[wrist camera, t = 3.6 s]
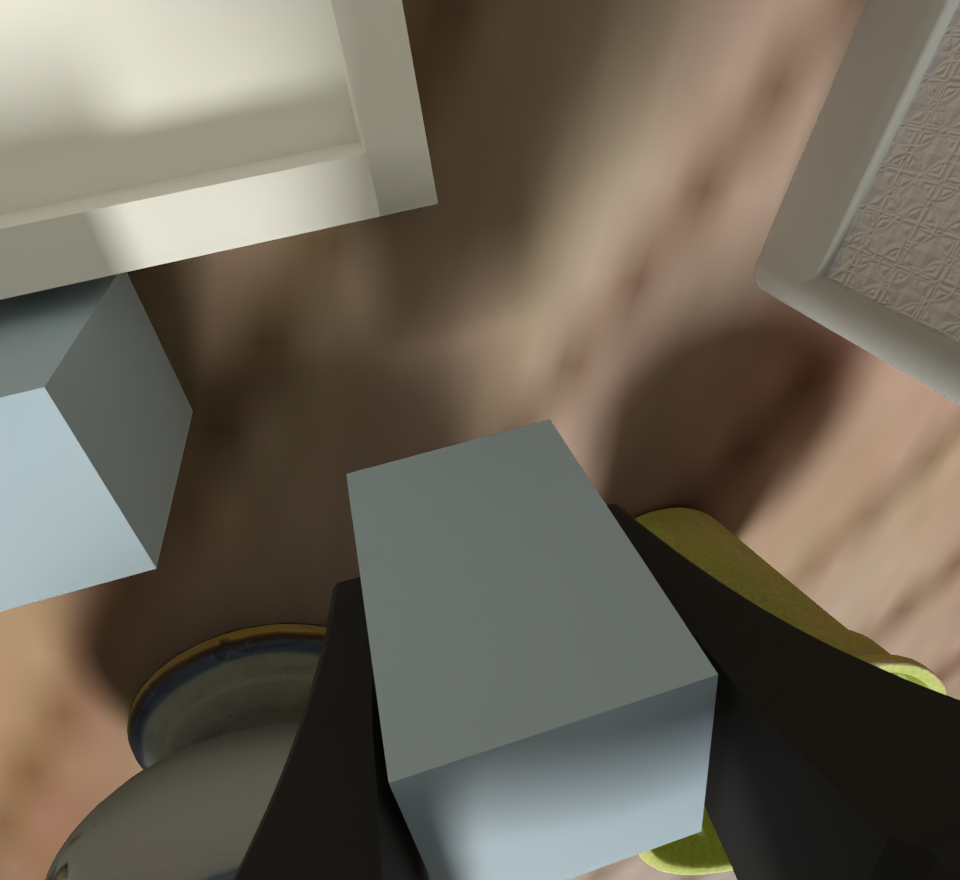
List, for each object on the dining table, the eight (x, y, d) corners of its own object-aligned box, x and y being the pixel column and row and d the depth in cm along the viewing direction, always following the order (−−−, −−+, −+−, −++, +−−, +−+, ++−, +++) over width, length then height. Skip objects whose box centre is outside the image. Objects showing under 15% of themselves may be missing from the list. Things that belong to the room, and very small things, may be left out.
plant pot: (550, 476, 21) (681, 705, 14) (795, 454, 24) (1012, 643, 17) (520, 665, 26) (606, 904, 19) (724, 632, 29) (868, 835, 21)
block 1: (34, 449, 17) (-69, 630, 12) (-63, 305, 14) (-242, 454, 9) (193, 410, 17) (156, 568, 12) (123, 264, 15) (44, 387, 10)
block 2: (393, 614, 14) (449, 921, 9) (345, 473, 12) (388, 783, 7) (564, 563, 15) (701, 831, 10) (549, 419, 13) (718, 674, 8)
